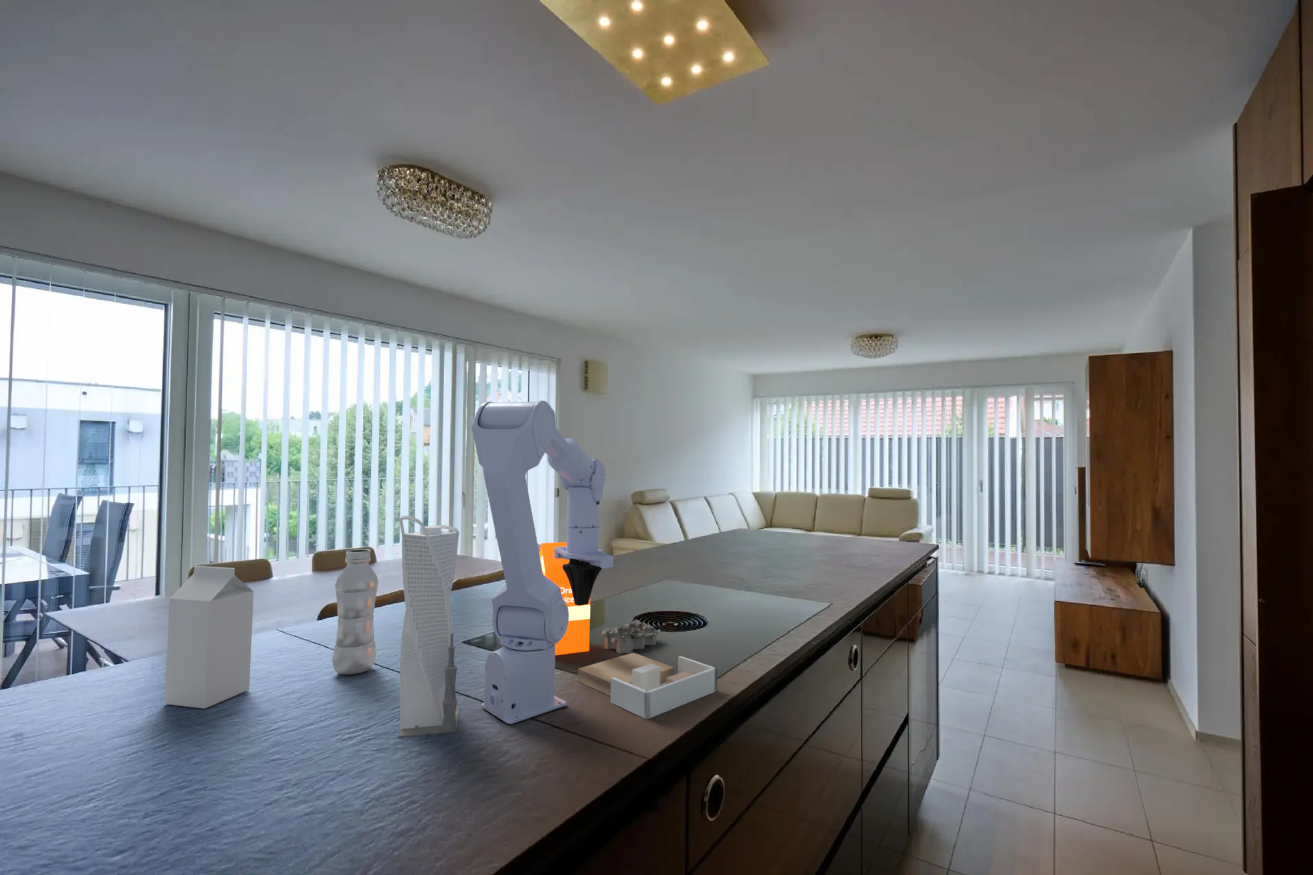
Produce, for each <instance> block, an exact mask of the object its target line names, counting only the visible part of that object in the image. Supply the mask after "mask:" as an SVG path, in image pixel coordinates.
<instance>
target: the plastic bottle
mask: <svg viewBox="0 0 1313 875" xmlns="http://www.w3.org/2000/svg"><path fill="white" fill-rule="evenodd" d="M345 554H346V555H345V560H344V562H345V563H346V566H345V567H344V569H343V570H342V571H341V572H340V574H339V575H338V577H337V579H336V580H335V584H334V587H335V588H334V591H335V595H336V596H335V597H336V605H337V606H336V607H337V631H336V638H335V645H334V649H333V652H332V658H331V659H332V665H333V666H332V667H333V670H334V671H335V672H336V673H337V674H340V675H356V674H360V673H363V672H366V671H369V670H371V669H372V668H373V666H374V664H375V662H376V658H377V647H376V641H375V630H374V629H375V628H374V613H375V604H376V598H377V592H378V587H379V580H378V575H377V574H376V572H375V571H374V569H373V568H372V566H371V565H370V564H369V562H371V560H372V557H371V549H367V548H362V549H361V548H360V549H349V550H346V553H345ZM345 563H344V564H345Z"/></svg>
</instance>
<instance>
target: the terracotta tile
mask: <svg viewBox="0 0 1313 875" xmlns="http://www.w3.org/2000/svg"><path fill="white" fill-rule="evenodd" d="M691 675H692V674H689V673H686V672H681V673H678V672H677V673H676V674H674V675H673V676H670V677H667V678H666V684H669V683H672V682H674V681H677V680H680V679H683V678H685V677H688V676H691Z"/></svg>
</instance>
